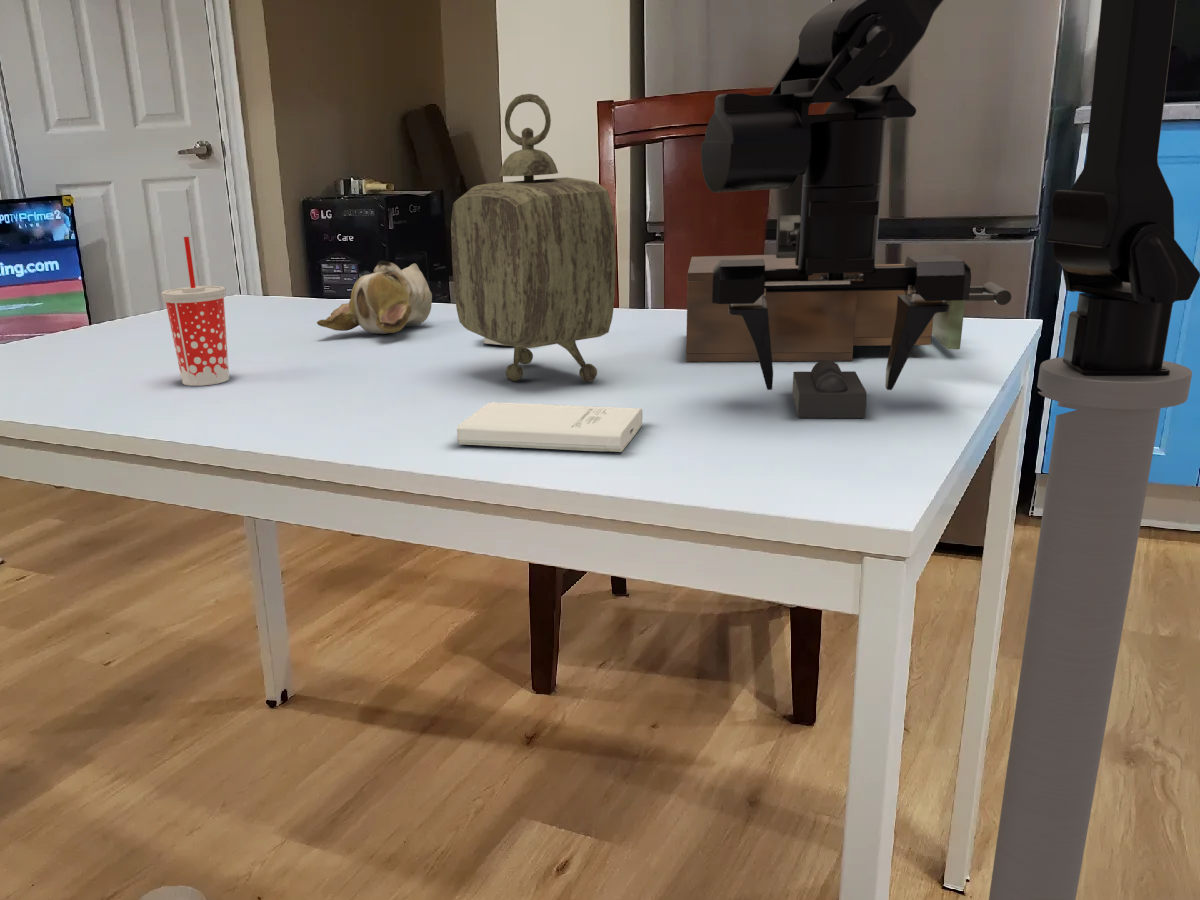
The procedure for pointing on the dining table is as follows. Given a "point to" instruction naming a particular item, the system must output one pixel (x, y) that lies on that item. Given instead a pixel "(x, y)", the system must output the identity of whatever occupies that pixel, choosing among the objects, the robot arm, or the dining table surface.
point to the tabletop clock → (534, 255)
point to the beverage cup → (198, 330)
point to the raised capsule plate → (828, 392)
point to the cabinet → (795, 319)
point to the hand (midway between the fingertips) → (828, 388)
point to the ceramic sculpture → (384, 301)
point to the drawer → (946, 327)
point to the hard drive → (551, 427)
